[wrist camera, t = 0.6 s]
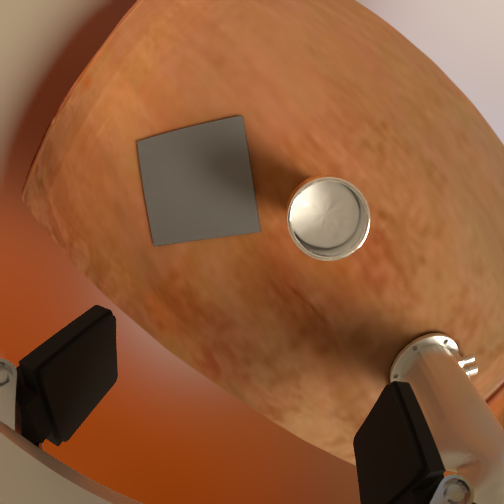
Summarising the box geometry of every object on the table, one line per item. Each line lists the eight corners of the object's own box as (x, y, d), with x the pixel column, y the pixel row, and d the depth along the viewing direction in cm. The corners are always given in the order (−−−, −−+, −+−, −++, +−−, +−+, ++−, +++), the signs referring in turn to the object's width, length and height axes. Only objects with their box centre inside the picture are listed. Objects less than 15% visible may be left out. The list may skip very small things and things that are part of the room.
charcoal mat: (243, 116, 35) (241, 115, 34) (260, 231, 38) (260, 232, 38) (139, 142, 38) (136, 141, 37) (156, 245, 41) (154, 246, 40)
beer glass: (303, 167, 36) (307, 158, 21) (352, 192, 35) (387, 200, 21) (279, 216, 38) (269, 240, 23) (328, 240, 37) (347, 278, 23)
